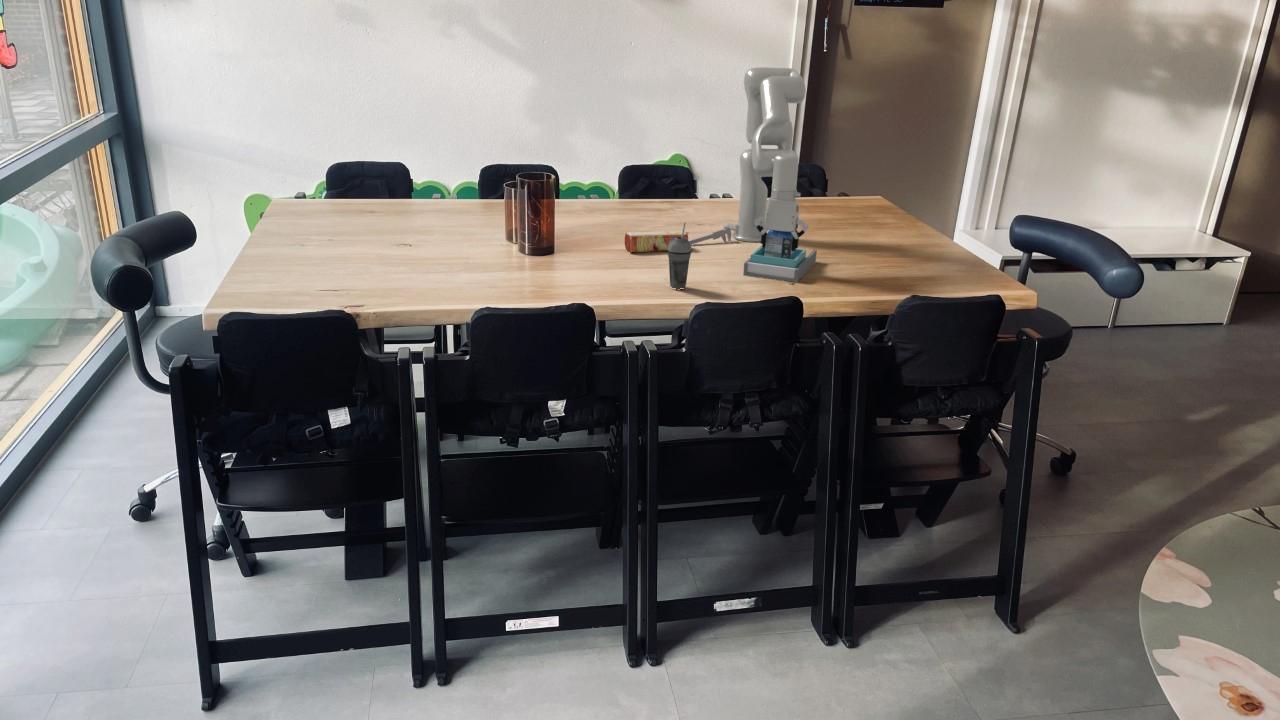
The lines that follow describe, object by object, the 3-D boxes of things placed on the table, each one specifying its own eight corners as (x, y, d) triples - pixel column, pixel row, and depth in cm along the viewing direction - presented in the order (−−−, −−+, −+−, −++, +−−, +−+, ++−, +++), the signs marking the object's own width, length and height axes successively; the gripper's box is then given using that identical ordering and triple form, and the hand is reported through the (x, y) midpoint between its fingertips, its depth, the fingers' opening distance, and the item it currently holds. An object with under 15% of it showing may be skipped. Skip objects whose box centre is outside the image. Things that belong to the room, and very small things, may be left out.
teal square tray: (749, 270, 314) (750, 254, 312) (761, 259, 326) (762, 244, 324) (794, 276, 309) (795, 260, 307) (804, 265, 321) (806, 249, 319)
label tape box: (763, 260, 318) (766, 223, 313) (767, 257, 321) (770, 220, 317) (789, 265, 314) (792, 227, 310) (793, 261, 318) (797, 224, 313)
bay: (743, 275, 313) (744, 262, 312) (765, 255, 336) (766, 243, 334) (796, 282, 307) (798, 270, 306) (815, 261, 330) (816, 250, 328)
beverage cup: (664, 284, 302) (667, 219, 295) (688, 284, 303) (691, 219, 295) (667, 291, 295) (669, 225, 288) (691, 291, 296) (694, 225, 288)
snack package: (682, 246, 344) (683, 227, 341) (689, 251, 338) (689, 232, 336) (623, 249, 338) (623, 230, 335) (629, 255, 332) (629, 235, 330)
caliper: (729, 241, 352) (730, 224, 350) (730, 242, 351) (731, 224, 349) (677, 246, 344) (678, 228, 342) (679, 247, 343) (680, 229, 341)
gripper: (813, 195, 309) (808, 248, 316) (759, 189, 315) (755, 242, 321) (808, 200, 303) (803, 254, 309) (753, 194, 309) (749, 247, 315)
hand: (779, 248), depth 315 cm, fingers closed on label tape box, 9 cm apart
